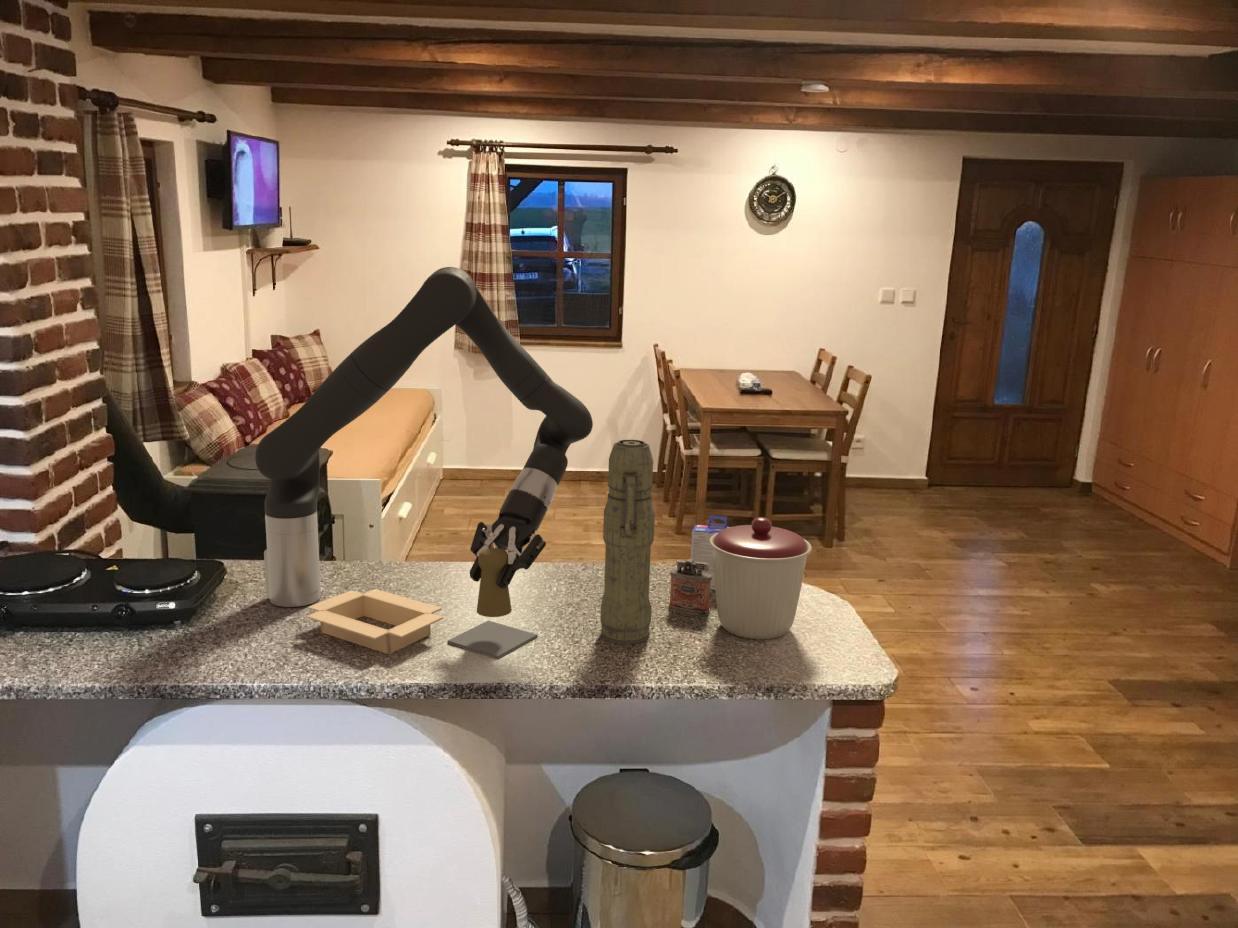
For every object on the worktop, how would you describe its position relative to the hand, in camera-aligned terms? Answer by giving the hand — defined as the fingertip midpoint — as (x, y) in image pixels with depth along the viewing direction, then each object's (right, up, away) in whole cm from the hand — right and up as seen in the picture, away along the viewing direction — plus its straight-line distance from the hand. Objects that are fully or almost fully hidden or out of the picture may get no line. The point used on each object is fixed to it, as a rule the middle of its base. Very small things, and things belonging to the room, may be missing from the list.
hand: (487, 582), depth 166 cm
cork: (+1, -5, +3) cm, 6 cm away
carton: (-20, -10, +5) cm, 23 cm away
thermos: (+23, -10, +8) cm, 27 cm away
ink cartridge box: (+42, -5, +34) cm, 54 cm away
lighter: (+36, -8, +20) cm, 42 cm away
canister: (+47, -10, +12) cm, 50 cm away
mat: (0, -10, +4) cm, 11 cm away
